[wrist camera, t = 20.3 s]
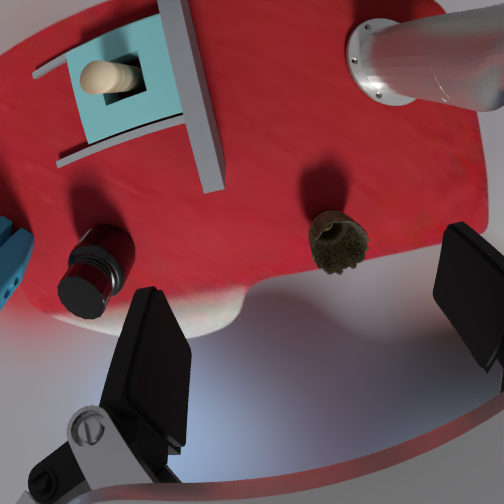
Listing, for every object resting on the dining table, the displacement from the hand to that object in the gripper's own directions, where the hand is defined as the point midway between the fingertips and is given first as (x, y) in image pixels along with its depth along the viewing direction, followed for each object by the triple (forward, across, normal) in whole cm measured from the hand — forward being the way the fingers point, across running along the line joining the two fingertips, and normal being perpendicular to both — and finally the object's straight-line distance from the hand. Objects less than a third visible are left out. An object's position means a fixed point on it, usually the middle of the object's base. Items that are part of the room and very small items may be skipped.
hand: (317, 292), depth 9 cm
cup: (+31, -8, +14) cm, 34 cm away
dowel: (+30, +12, -11) cm, 35 cm away
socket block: (+30, +12, -11) cm, 35 cm away
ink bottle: (+31, +24, +11) cm, 40 cm away
